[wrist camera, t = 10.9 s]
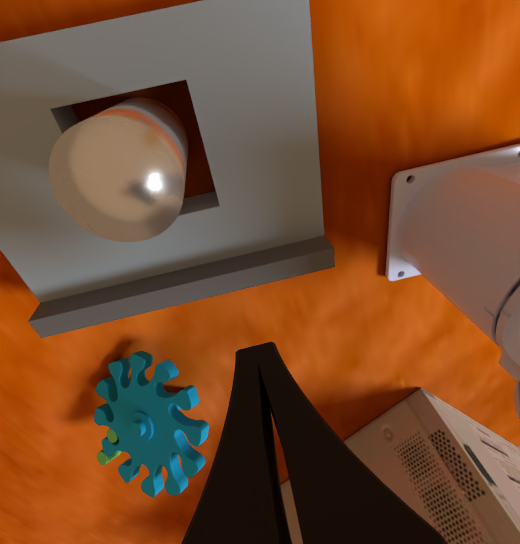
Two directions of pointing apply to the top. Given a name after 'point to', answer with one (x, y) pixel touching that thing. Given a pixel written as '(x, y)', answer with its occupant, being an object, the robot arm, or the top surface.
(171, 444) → the gear
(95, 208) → the cylindrical peg
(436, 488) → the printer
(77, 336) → the top surface
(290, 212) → the plate
